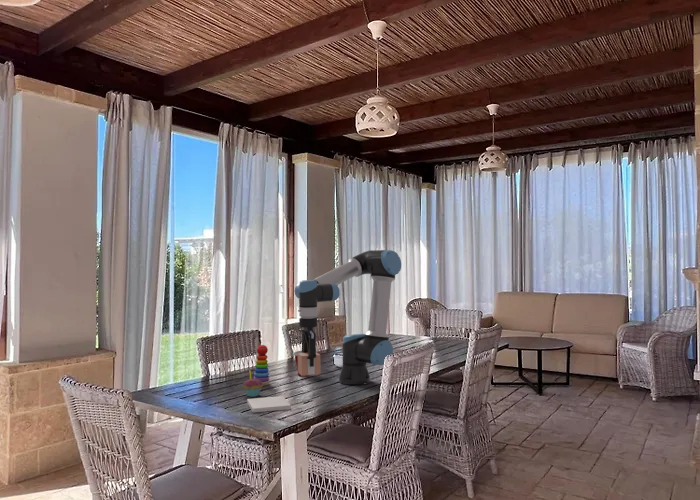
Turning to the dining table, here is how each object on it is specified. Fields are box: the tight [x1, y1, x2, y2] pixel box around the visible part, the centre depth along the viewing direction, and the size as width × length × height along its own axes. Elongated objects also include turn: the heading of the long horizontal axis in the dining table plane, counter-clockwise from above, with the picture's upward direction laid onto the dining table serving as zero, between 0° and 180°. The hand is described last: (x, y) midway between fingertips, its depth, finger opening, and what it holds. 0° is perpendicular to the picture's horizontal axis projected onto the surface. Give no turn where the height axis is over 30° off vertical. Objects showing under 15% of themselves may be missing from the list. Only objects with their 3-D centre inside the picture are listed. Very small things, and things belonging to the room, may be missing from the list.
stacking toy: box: [252, 344, 270, 387], centre depth 249 cm, size 8×8×19 cm
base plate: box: [246, 395, 292, 413], centre depth 212 cm, size 15×15×2 cm
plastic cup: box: [293, 350, 310, 377], centre depth 269 cm, size 11×11×12 cm
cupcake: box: [242, 368, 264, 398], centre depth 229 cm, size 9×8×12 cm
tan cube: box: [297, 351, 322, 377], centre depth 218 cm, size 8×7×8 cm
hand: (308, 372), depth 218 cm, fingers closed on tan cube, 7 cm apart
